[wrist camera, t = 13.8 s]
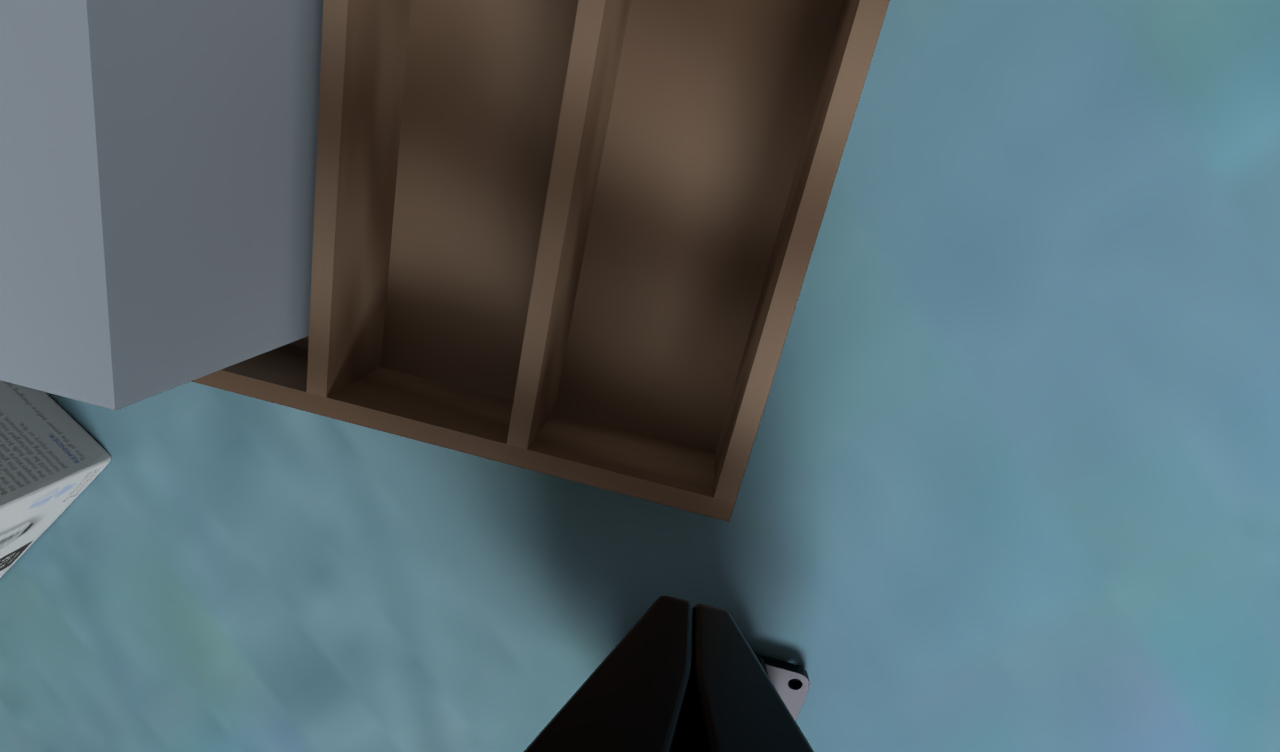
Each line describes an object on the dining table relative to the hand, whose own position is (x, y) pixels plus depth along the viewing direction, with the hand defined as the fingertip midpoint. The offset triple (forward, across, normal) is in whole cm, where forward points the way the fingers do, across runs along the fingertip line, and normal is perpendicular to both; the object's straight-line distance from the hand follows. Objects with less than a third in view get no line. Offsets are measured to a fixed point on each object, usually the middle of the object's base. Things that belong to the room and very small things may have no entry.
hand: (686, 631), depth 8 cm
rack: (+13, +8, -5) cm, 16 cm away
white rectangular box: (+12, +14, -5) cm, 19 cm away
